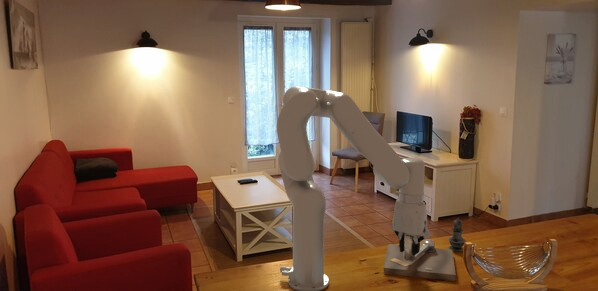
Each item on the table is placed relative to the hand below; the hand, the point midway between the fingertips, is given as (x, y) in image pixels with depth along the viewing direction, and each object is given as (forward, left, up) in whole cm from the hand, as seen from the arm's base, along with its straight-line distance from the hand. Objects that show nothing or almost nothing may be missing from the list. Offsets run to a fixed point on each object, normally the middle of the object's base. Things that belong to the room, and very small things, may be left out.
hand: (409, 251), depth 152 cm
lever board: (+3, +7, -7) cm, 10 cm away
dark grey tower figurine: (+16, +23, -7) cm, 29 cm away
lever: (+3, +7, -3) cm, 9 cm away
